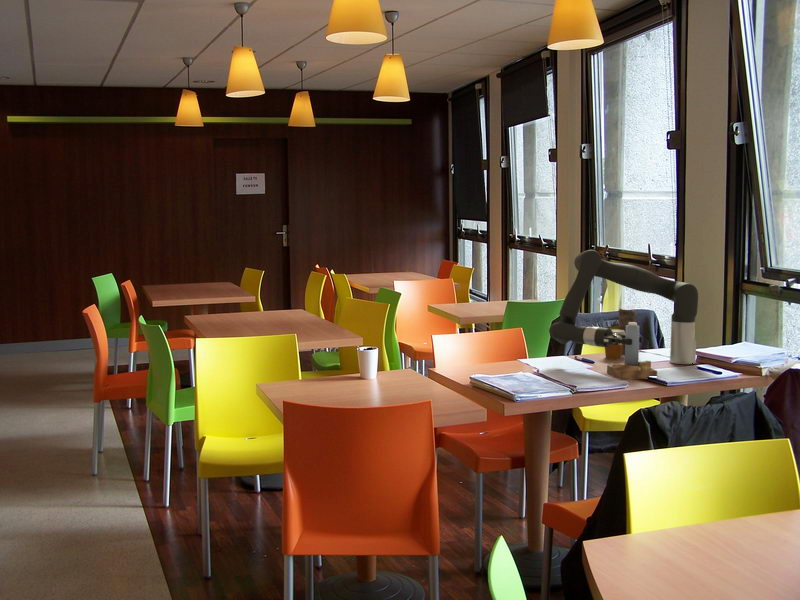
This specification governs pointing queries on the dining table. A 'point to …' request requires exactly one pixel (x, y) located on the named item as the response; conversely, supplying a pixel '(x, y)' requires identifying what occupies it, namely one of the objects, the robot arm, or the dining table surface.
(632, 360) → the flask
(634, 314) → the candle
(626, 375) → the display stand
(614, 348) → the disposable coffee cup
